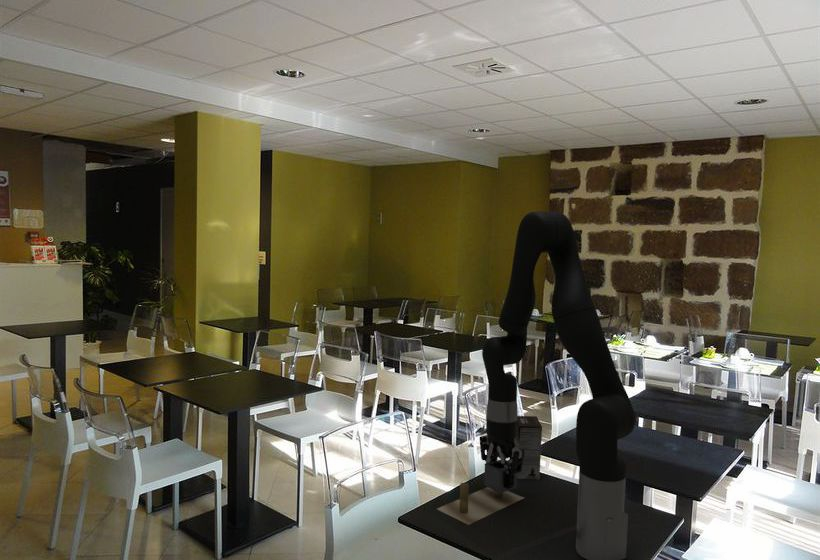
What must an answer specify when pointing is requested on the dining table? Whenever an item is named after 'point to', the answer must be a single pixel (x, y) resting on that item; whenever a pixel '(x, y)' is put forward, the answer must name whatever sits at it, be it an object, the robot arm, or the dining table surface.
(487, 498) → the board
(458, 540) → the dining table surface
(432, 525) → the dining table surface
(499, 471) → the collar
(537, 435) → the coffee box
